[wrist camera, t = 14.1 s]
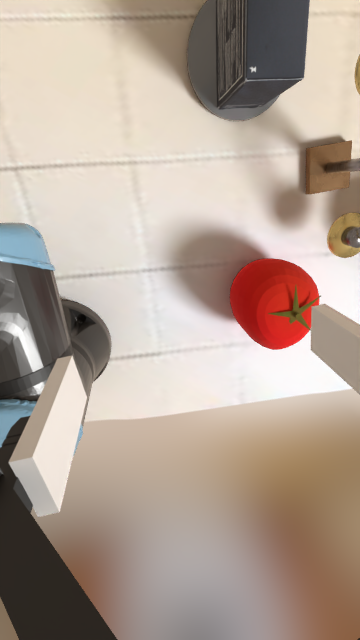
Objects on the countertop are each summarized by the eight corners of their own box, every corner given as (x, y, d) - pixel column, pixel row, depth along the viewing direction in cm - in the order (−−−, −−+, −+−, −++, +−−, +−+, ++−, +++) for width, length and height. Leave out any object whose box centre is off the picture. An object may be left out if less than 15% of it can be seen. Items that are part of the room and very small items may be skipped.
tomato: (223, 334, 53) (244, 369, 42) (221, 255, 47) (245, 273, 37) (291, 325, 54) (328, 358, 43) (297, 247, 48) (341, 262, 38)
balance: (305, 252, 49) (368, 276, 35) (306, 71, 39) (395, 9, 26) (340, 245, 49) (416, 266, 36) (350, 64, 39) (460, -1, 26)
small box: (265, 108, 39) (307, 81, 29) (215, 110, 38) (242, 84, 29) (269, -2, 35) (320, -76, 25) (214, -2, 34) (244, -76, 25)
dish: (194, 129, 40) (195, 127, 39) (178, -2, 35) (179, -9, 33) (288, 114, 41) (293, 111, 39) (287, -17, 35) (292, -25, 34)
